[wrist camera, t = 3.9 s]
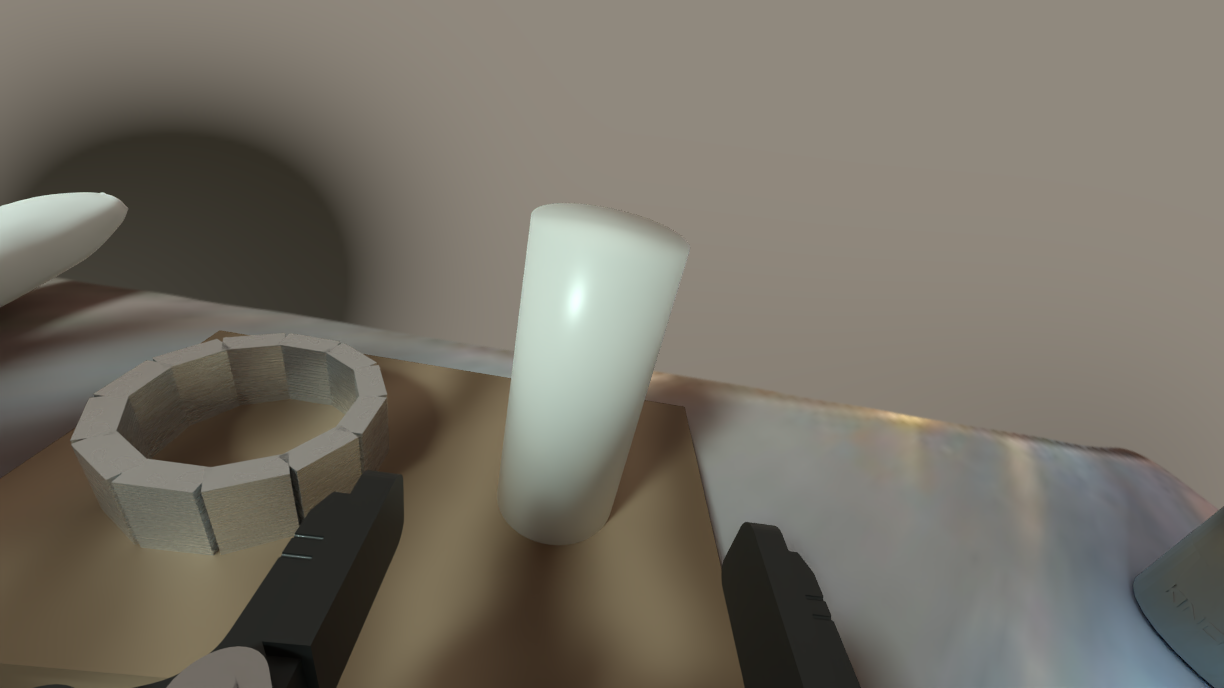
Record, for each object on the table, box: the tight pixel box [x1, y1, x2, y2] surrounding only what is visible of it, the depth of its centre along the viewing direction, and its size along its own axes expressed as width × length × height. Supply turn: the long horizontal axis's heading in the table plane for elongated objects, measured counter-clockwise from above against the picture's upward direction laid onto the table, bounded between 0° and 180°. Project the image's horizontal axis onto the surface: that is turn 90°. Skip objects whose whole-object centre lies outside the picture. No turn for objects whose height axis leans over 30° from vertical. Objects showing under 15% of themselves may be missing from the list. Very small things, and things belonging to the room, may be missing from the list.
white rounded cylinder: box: [497, 203, 690, 545], centre depth 18 cm, size 5×5×12 cm
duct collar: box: [70, 333, 389, 556], centre depth 19 cm, size 9×9×3 cm
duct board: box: [0, 331, 745, 688], centre depth 20 cm, size 26×16×2 cm, turn 91°
